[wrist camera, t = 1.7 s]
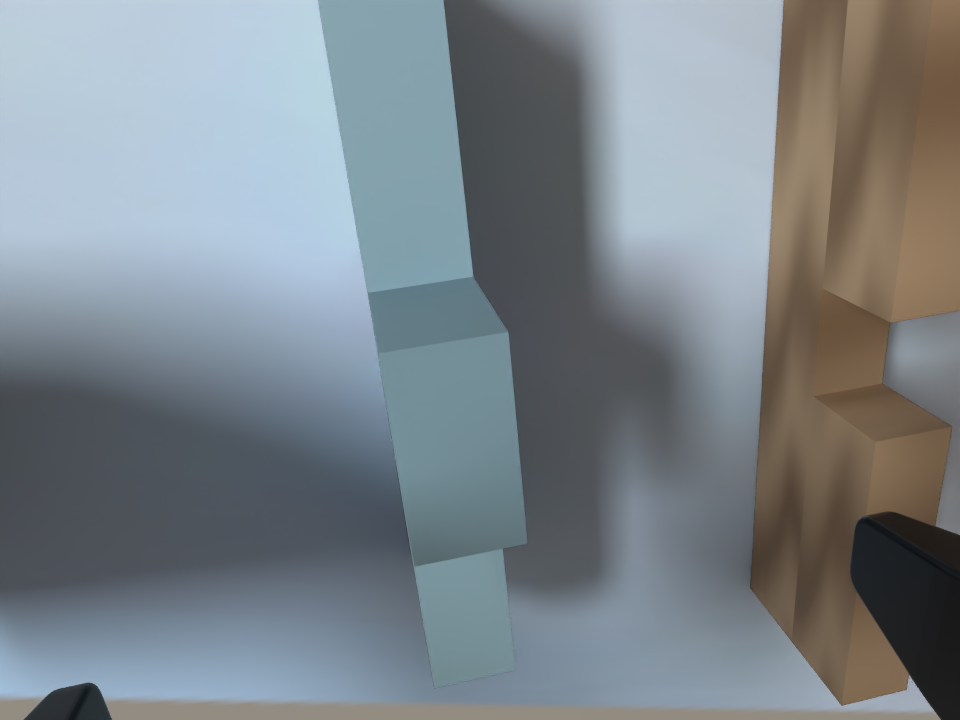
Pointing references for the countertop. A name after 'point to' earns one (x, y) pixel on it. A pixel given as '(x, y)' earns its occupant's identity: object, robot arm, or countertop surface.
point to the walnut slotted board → (852, 311)
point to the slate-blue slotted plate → (412, 245)
